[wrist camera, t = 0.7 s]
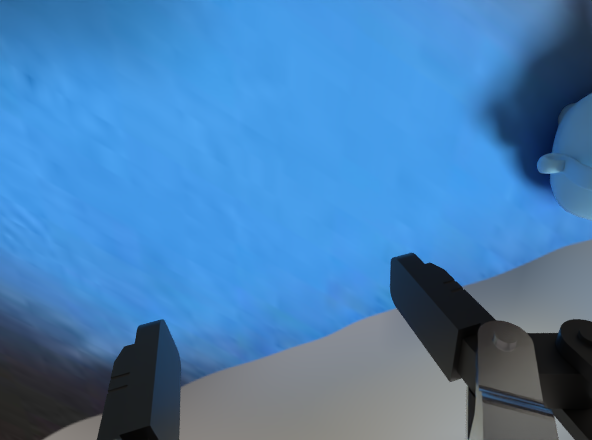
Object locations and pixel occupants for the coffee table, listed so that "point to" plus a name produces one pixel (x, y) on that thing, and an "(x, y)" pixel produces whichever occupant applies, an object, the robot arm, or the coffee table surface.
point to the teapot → (572, 159)
